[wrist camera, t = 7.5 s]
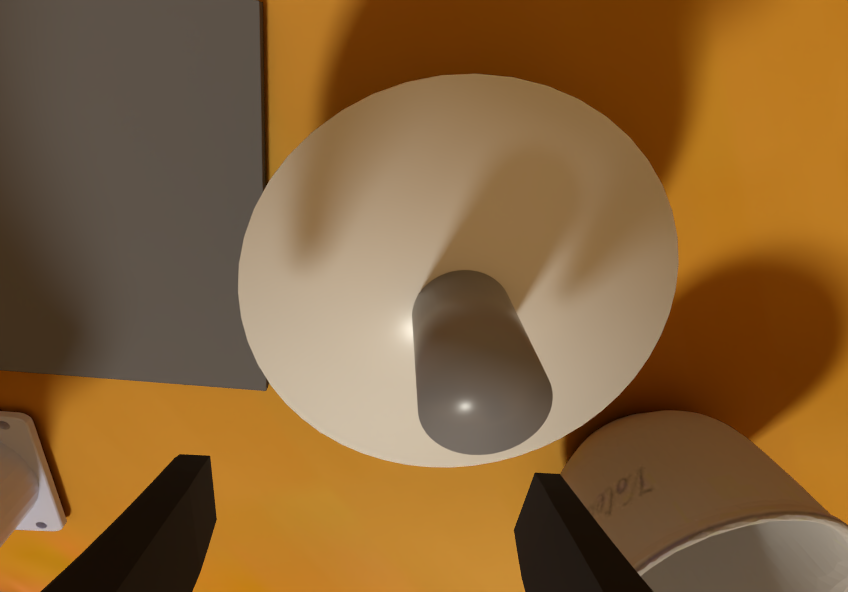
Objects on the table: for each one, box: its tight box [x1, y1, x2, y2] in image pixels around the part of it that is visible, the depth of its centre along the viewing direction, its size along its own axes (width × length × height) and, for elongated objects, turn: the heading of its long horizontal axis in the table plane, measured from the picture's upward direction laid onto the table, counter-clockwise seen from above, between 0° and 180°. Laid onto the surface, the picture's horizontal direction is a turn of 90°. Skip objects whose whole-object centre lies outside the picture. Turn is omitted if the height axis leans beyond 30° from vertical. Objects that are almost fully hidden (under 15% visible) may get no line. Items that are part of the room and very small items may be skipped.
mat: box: [0, 0, 268, 391], centre depth 16 cm, size 15×15×1 cm
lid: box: [238, 73, 678, 467], centre depth 12 cm, size 13×13×5 cm
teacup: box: [560, 410, 848, 592], centre depth 21 cm, size 14×11×8 cm
